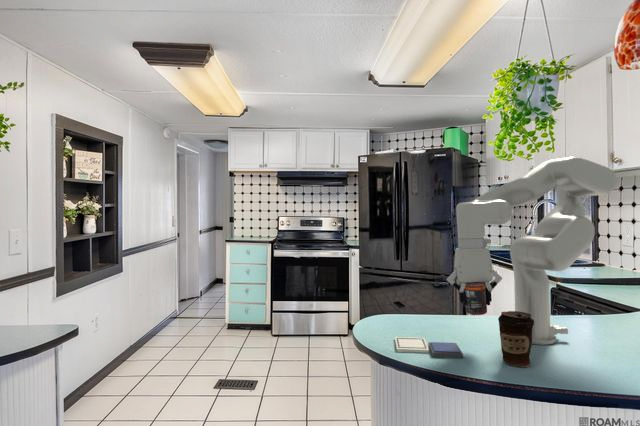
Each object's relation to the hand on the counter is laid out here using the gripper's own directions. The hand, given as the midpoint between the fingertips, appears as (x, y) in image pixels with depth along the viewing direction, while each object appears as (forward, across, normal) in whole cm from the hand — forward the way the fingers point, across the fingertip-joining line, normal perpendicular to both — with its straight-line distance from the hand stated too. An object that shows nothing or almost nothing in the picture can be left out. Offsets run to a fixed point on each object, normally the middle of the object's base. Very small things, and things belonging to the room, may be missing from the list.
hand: (475, 303), depth 108 cm
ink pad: (+12, +11, +6) cm, 17 cm away
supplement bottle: (+3, 0, 0) cm, 3 cm away
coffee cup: (+13, -6, +12) cm, 19 cm away
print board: (+12, +20, +2) cm, 23 cm away
